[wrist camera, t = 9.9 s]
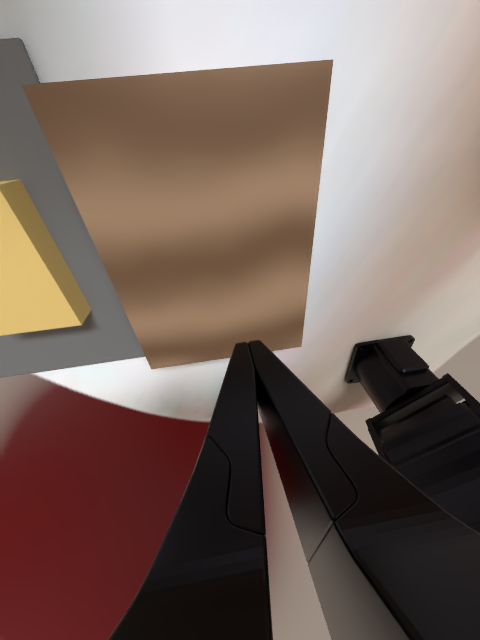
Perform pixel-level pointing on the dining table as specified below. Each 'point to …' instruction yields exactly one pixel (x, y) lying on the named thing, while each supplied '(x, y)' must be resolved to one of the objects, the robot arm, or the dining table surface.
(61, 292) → the yellow flat block
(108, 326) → the mat
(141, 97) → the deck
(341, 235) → the dining table surface
